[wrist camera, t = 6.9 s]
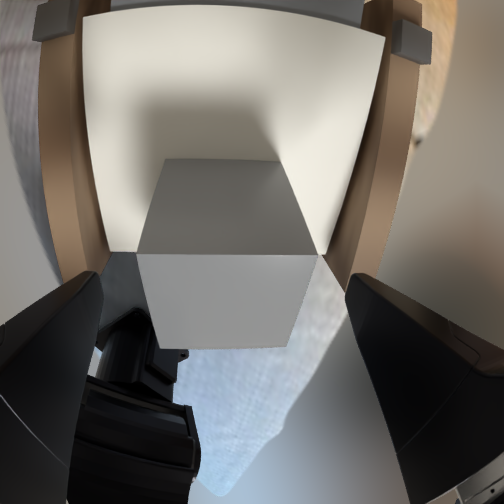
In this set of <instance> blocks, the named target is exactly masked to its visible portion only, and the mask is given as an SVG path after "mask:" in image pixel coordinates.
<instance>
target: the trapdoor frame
mask: <svg viewBox="0 0 504 504" xmlns="http://www.w3.org/2000/svg"><path fill="white" fill-rule="evenodd" d="M110 11H111V0H49V1H48V2H47V3H44V4H41V5H38V7H37V12H36V18H35V24H34V30H33V37H32V40H33V41H38V42H42V45H41V55H40V67H39V87H38V126H39V146H40V159H41V170H42V178H43V186H44V194H45V201H46V207H47V213H48V218H49V224H50V229H51V234H52V239H53V243H54V248H55V252H56V256H57V260H58V264H59V268H60V272H61V276H62V279H63V283H66V282H67V281H69V280H70V279H72V278H74V277H75V276H77V275H78V274H80V273H82V272H83V271H86V270H89V271H97V272H98V274H99V276H100V275H101V274H102V272H103V270H104V268H105V266H106V264H107V262H108V260H109V258H110V256H111V255H112V253H113V252H110V248H109V245H108V241H107V236H106V232H105V228H104V224H103V219H102V215H101V210H100V205H99V200H98V195H97V190H96V185H95V179H94V173H93V167H92V161H91V154H90V147H89V139H88V131H87V122H86V112H85V100H84V84H83V53H82V40H83V17H87V16H92V15H97V14H102V13H108V12H110ZM360 29H362V30H365V31H368V32H371V33H374V34H377V35H380V36H383V37H386V38H385V43H384V48H383V53H382V58H381V62H380V67H379V71H378V76H377V80H376V85H375V89H374V93H373V97H372V101H371V105H370V109H369V113H368V117H367V121H366V125H365V129H364V132H363V136H362V140H361V143H360V147H359V151H358V154H357V158H356V161H355V164H354V168H353V171H352V175H351V178H350V181H349V185H348V188H347V191H346V194H345V197H344V201H343V204H342V207H341V210H340V213H339V216H338V219H337V222H336V225H335V228H334V231H333V234H332V237H331V240H330V243H329V246H328V249H327V252H326V254H321V255H322V256H323V258H324V259H325V261H326V263H327V264H328V266H329V268H330V269H331V271H332V272H333V274H334V276H335V277H336V279H337V281H338V282H339V284H340V286H341V287H342V289H343V291H344V292H346V290H347V286H348V283H349V280H350V277H351V275H352V274H353V273H366V274H367V275H369V276H371V277H373V278H375V277H376V274H377V271H378V268H379V265H380V262H381V259H382V255H383V252H384V249H385V246H386V242H387V238H388V235H389V232H390V228H391V224H392V220H393V217H394V213H395V209H396V205H397V201H398V197H399V193H400V188H401V184H402V179H403V175H404V170H405V165H406V160H407V155H408V150H409V144H410V139H411V133H412V126H413V120H414V113H415V106H416V98H417V89H418V79H419V68H420V65H422V64H431V52H432V32H430V31H428V30H426V29H424V28H422V4H421V3H419V2H416V1H414V0H371V1H369V2H367V3H365V4H364V7H363V13H362V19H361V25H360Z"/></svg>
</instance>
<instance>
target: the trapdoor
mask: <svg viewBox="0 0 504 504" xmlns="http://www.w3.org/2000/svg"><path fill="white" fill-rule="evenodd" d="M364 1H365V0H111V11H110V12H108V13H102V14H97V15H92V16H87V17H83V40H82V53H83V84H84V100H85V112H86V122H87V131H88V139H89V147H90V154H91V161H92V167H93V173H94V179H95V185H96V190H97V195H98V200H99V205H100V210H101V215H102V219H103V224H104V228H105V232H106V236H107V241H108V245H109V248H110V252H137V248H138V244H139V241H140V237H141V234H142V230H143V227H144V223H145V220H146V216H147V213H148V210H149V207H150V203H151V200H152V197H153V194H154V191H155V188H156V185H157V182H158V179H159V176H160V173H161V170H162V167H163V164H164V161H165V159H237V160H260V161H277V162H281V163H282V165H283V168H284V170H285V172H286V175H287V177H288V179H289V182H290V184H291V187H292V189H293V192H294V194H295V196H296V199H297V201H298V204H299V206H300V209H301V211H302V214H303V216H304V219H305V222H306V224H307V227H308V229H309V232H310V234H311V237H312V240H313V242H314V245H315V248H316V250H317V253H318V254H326V252H327V249H328V246H329V243H330V240H331V237H332V234H333V231H334V228H335V225H336V222H337V219H338V216H339V213H340V210H341V207H342V204H343V201H344V197H345V194H346V191H347V188H348V185H349V181H350V178H351V175H352V171H353V168H354V164H355V161H356V158H357V154H358V151H359V147H360V143H361V140H362V136H363V132H364V129H365V125H366V121H367V117H368V113H369V109H370V105H371V101H372V97H373V93H374V89H375V85H376V80H377V76H378V71H379V67H380V62H381V58H382V53H383V48H384V43H385V38H386V37H383V36H380V35H377V34H374V33H371V32H368V31H365V30H362V29H360V25H361V19H362V13H363V7H364Z"/></svg>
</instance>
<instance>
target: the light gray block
mask: <svg viewBox="0 0 504 504" xmlns="http://www.w3.org/2000/svg"><path fill="white" fill-rule="evenodd" d="M136 257H137V261H138V266H139V271H140V275H141V279H142V284H143V288H144V292H145V296H146V300H147V304H148V308H149V311H150V315H151V319H152V322H153V326H154V330H155V333H156V336H157V340H158V343H159V347H160V348H161V349H249V348H272V347H286V346H287V343H288V340H289V338H290V335H291V332H292V330H293V327H294V324H295V321H296V319H297V316H298V313H299V310H300V308H301V305H302V302H303V299H304V296H305V293H306V291H307V288H308V285H309V282H310V279H311V276H312V273H313V270H314V267H315V264H316V261H317V258H318V253H317V250H316V248H315V245H314V242H313V240H312V237H311V234H310V232H309V229H308V227H307V224H306V222H305V219H304V216H303V214H302V211H301V209H300V206H299V204H298V201H297V199H296V196H295V194H294V192H293V189H292V187H291V184H290V182H289V179H288V177H287V175H286V172H285V170H284V168H283V165H282V163H281V162H277V161H260V160H237V159H165V161H164V164H163V167H162V170H161V173H160V176H159V179H158V182H157V185H156V188H155V191H154V194H153V197H152V200H151V203H150V207H149V210H148V213H147V216H146V220H145V223H144V227H143V230H142V234H141V237H140V241H139V244H138V248H137V252H136Z"/></svg>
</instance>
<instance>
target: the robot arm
mask: <svg viewBox="0 0 504 504" xmlns="http://www.w3.org/2000/svg"><path fill="white" fill-rule="evenodd" d="M103 300H104V295H103V290H102V286H101V281H100V276H99V274H98V272H97V271H89V270H86V271H83V272H82V273H80V274H78V275H77V276H75V277H74V278H72V279H70V280H69V281H67V282H66V283H64V284H62V285H61V286H59V287H58V288H56V289H55V290H53V291H52V292H50V293H48V294H47V295H45V296H44V297H42V298H41V299H39V300H38V301H36V302H35V303H33V304H32V305H30V306H29V307H27V308H26V309H24V310H23V311H22V312H20V313H18V314H17V315H16V316H14V317H13V318H11V319H10V320H9V321H7V322H6V323H5V325H4V324H3V325H1V326H0V504H66V499H67V501H68V503H69V504H188V496H189V490H190V486H191V483H193V482H194V480H195V479H196V477H197V474H198V471H199V468H200V462H201V447H200V442H199V438H198V433H197V429H196V424H195V420H194V415H193V411H192V406H188V405H184V406H183V405H179V404H176V403H173V386H174V383H176V381H177V367H178V363H179V362H181V361H183V360H185V359H187V358H188V357H189V351H188V350H187V349H161V348H160V347H159V343H158V340H157V336H156V333H155V330H154V326H153V322H152V319H151V317H149V316H148V315H147V314H146V313H145V312H144V311H143V310H142V309H140V308H133V309H132V310H130V311H128V312H127V313H125V314H124V315H122V316H121V317H119V318H118V319H116V320H115V321H113V322H112V323H110V324H109V325H107V326H106V327H104V328H103V329H101V330H100V331H98V327H99V321H100V316H101V311H102V306H103ZM345 303H346V306H347V310H348V313H349V317H350V321H351V324H352V328H353V332H354V335H355V338H356V341H357V344H358V347H359V349H360V352H361V355H362V357H363V360H364V363H365V365H366V368H367V370H368V373H369V376H370V379H371V381H372V384H373V387H374V390H375V392H376V395H377V398H378V401H379V403H380V406H381V410H382V412H383V415H384V418H385V421H386V424H387V427H388V430H389V433H390V436H391V439H392V443H393V446H394V449H395V452H396V453H397V454H396V456H397V459H398V462H399V466H400V469H401V473H402V476H403V480H404V483H405V486H406V490H407V494H408V497H409V501H410V504H427V503H430V502H431V501H433V500H435V499H437V498H439V497H441V496H443V495H445V494H446V493H448V492H450V491H452V490H453V489H455V490H456V493H457V495H458V497H459V498H458V499H457V500H456V503H455V504H504V350H503V349H501V348H499V347H498V346H496V345H494V344H492V343H490V342H488V341H486V340H484V339H482V338H480V337H478V336H476V335H475V334H473V333H471V332H469V331H467V330H465V329H464V328H462V327H460V326H458V325H457V324H455V323H453V322H451V321H450V320H449V321H448V319H446V318H445V317H443V316H441V315H439V314H438V313H436V312H434V311H432V310H431V309H429V308H427V307H425V306H423V305H422V304H420V303H418V302H416V301H415V300H413V299H411V298H409V297H408V296H406V295H404V294H402V293H400V292H399V291H397V290H395V289H393V288H391V287H389V286H388V285H386V284H384V283H382V282H380V281H379V280H377V279H375V278H373V277H371V276H369V275H367V274H366V273H353V274H352V275H351V277H350V280H349V283H348V286H347V290H346V293H345ZM135 313H138V314H139V315H137V314H135ZM96 340H97V341H96ZM94 347H97V348H98V349H99V350H100V351H102V355H101V359H100V362H99V366H98V369H97V373H96V376H95V377H93V376H90V375H88V374H87V373H88V369H89V366H90V362H91V358H92V354H93V351H94ZM182 353H183V354H182Z"/></svg>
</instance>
